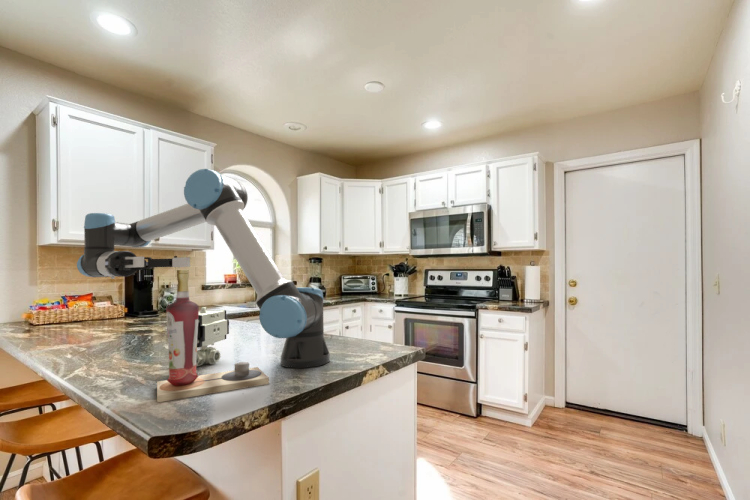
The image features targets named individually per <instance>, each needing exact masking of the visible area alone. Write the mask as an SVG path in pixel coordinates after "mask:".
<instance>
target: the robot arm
mask: <svg viewBox="0 0 750 500" xmlns="http://www.w3.org/2000/svg"><path fill="white" fill-rule="evenodd" d="M183 195H184V199H185V201H186V204H182V205H180V206H177V207H174V208H171V209H168V210H166V211H163V212H159V213H156V214H153V215H151V216H148V217H145V218H143V219H140V220H137V221H135V222H132V223H125V222H119V221H117V222H116V220H115V216H114V215H113V214H111V213H104V212H92V213H90V212H89V213H86V215H85V216H84V224H83V228H84V230H83V231H84V242H83V243H84V246H83V247H84V249H83V254H82V255H81V256H79V258H78V260H77V262H76V268H77V270H78V272H79V273H80V274H81V275H83V276H85V277H88V278H89V277H91V278H109V277H110V279H113V280H114V279H115V277H118V278H119V277H120V278H121V277H125V278H126V277H130V276H132V275H134V274H136V272H137V271H142V270H152V269H153V268H185V267H187V268H188V267H189V268H190V267H191V258H190V256H187V257H184V256H183V257H178V256H177V255H174V257H172V258H152V257H150V256H147V257H145V256H144V255H143V256H137V255H136V254H135V253H134V252H132V251H130V250H115V246H119V247H129V248H139V247H140V248H143V247H146V246H148V245H149V244H150V243H151V242H152V241H154V240H157V239H160V238H163V237H166V236H169V235H171V234H174V233H178V232H181V231H183V230H187V229H190V228H191V227H195V226H198V225H202V224H204V223H207V224H208V225H211V226H212V225H213V226H215V227H216V228H217V231H218V232H219V234H220V236H221V237H222V239H223V241H224V242H225V243H226V245H227V247H228V248H229V250H230V252H231V253H232V255H233V256H234V259H235V260H236V262H237V264H238V266H240V269H241V270H242V272H243V274H244V275H245V277H246V278H247V280H248V282H249V283H250V285H251V286H252V288H253V291H255V293H256V295H257V297H256V300H255V304H256V305H257V308H258V309H259V317H258V319H259V322H260V325H261V327H262V328H263V330H264V331H265V332H266V333H267V334H268V335H269V336H271V337H274V338H277V339H285V342H284V344H283V348H282V351H281V354H280V365H281V366H283V367H284V368H285V367H286V368H294V369H301V368H302V369H304V368H305V369H307V368H314V367H315V368H316V367H319V366H323V365H326V364H328V363H330V359H331V358H330V356H331V355H330V350H329V348H328V345H327V342H326V340H325V335H324V329H325V328H324V325H325V324H324V301H325V300H324V293H323V290H322V289H320V288H317V287H297V286H296V285H295V282H294V281H293V280H291V279H287V278H285V277H284V275H283V274H282V272H281V271H280V269H279V267H278V266H277V264H276V263H275V260H274V259H273V258H272V256H271V255H270V253H269V251H268V250H267V248H266V247H265V245H264V244H263V242H262V240H261V238H260V237H259V235H258V233H256V231H255V229H254V227H253V226H252V224H251V223H250V221H249V219H248V218H247V216H246V214H245V213H244V212H243V211H244V209H245V208H246V207H247V204H248V197H249V196H248V191H247V190H246V188H245V186H244V185H243V184H242V182H240V181H238V180H236V179H234V178H231V177H229V176H227V175H224V174H222V173H221V172H219V171H217V170H214V169H209V168H201V169H198V170H196V171H194V172H192V173H191V174H190V175H189V177H188V178H187V179H186V181H185V185H184V187H183Z"/></svg>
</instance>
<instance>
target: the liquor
mask: <svg viewBox="0 0 750 500" xmlns="http://www.w3.org/2000/svg"><path fill="white" fill-rule="evenodd" d="M189 273H190V272H189V269H177V270H176V279H177V289H176V297H175V298H176V299H175V301H174V302H172V303H170V304H169V305H168V306H166V308H165V312H166V330H167V344H168V345H167V346H168V373H169V374H168V378H167V379H166V380H167V381H168V382H169V383H171V384H172V385H173V386H185V385H189V384H191V383H193V382H194V381H195V379H196V378H197V377H198V376H199V375H198V373H197V366H196V357H197V351H198V347H197V335H198V314H199V312H200V309H199V308H200V305H199V304H197V303H196V302H194V301H191V300H190V294H189V293H190V291H189V277H190V274H189Z"/></svg>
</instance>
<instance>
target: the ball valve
mask: <svg viewBox="0 0 750 500" xmlns="http://www.w3.org/2000/svg"><path fill="white" fill-rule="evenodd" d="M200 309H201V311H199V314H198V335H197V348H200V349H199V350H198V349H197V357H196V367H200V366H202V365H214V364H216V363H218V362H219V361H220V360H221V352H220V351H219V350H217V348H216V347H212V346H214V345H215V343H218V342H221V341H224V340H226V339H227V335H229V334H230V319H229V318H228V316H227V310H225V309H224V310H223V309H222V310H220V309H219V310H218V309H217V310H215V309H214V310H210V309H209V310H208V309H207V306H203V307H201V308H200ZM210 345H211V346H210Z"/></svg>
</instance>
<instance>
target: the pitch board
mask: <svg viewBox="0 0 750 500" xmlns="http://www.w3.org/2000/svg"><path fill="white" fill-rule="evenodd" d="M167 380H168V379H166V380H160V381H158V380H157V382H156V384H157V385H156V396H157V397H156V402H157V403H162V402H167V401H169V402H170V401H172V400H173V401H174V400H179V399H180V400H181V399H185V398H191V397H198V396H203V395H208V394H209V395H210V394H215V393H222V392H227V391H232V390H239V389H245V388H251V387H256V386H264V385H268V384H270V377H269V376H268V375H267V374H266V373H265V372H264V371H262V369H261V368H259V366H255V367H250V363H249V362H246V361H240V362H236V363H235V364H234V370H229V371H228V370H227V371H221V372H214V373H208V374H207V373H206V374H200V375H198V377H197V378H196V379H195V381H194V382H193V383H191V384H189V385H185V386H173V385H172V384H171V383H169V382H168V381H167Z"/></svg>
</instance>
